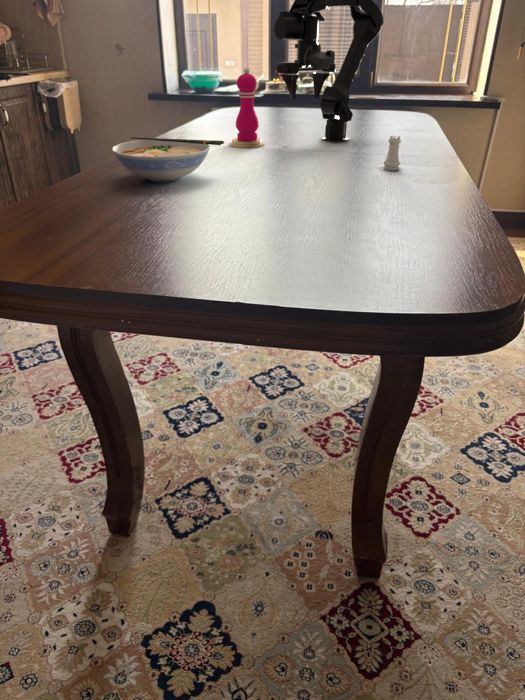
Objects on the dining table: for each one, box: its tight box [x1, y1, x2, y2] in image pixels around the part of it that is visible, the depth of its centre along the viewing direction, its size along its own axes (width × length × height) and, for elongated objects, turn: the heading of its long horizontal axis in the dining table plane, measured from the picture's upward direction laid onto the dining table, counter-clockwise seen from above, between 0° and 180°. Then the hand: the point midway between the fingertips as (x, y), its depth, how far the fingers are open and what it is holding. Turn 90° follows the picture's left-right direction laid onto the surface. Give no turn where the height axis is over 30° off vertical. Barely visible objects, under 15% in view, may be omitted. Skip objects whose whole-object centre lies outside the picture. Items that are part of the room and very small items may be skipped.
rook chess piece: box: [382, 135, 402, 172], centre depth 134 cm, size 4×4×8 cm
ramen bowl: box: [111, 137, 225, 183], centre depth 124 cm, size 25×23×8 cm
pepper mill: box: [235, 67, 260, 141], centre depth 159 cm, size 7×7×20 cm
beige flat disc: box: [230, 137, 263, 149], centre depth 164 cm, size 10×10×2 cm
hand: (305, 99), depth 159 cm, fingers open, 9 cm apart
